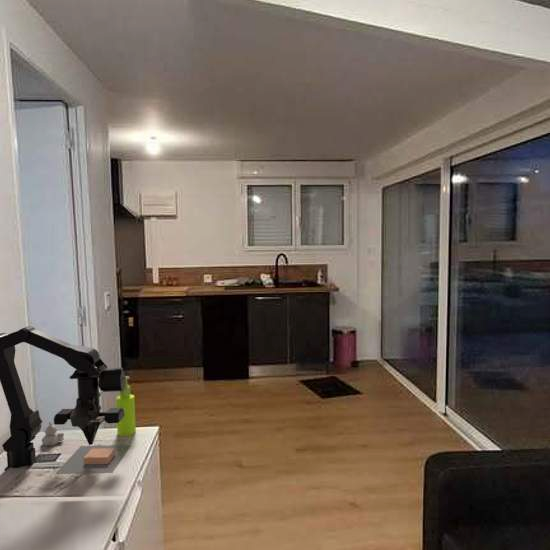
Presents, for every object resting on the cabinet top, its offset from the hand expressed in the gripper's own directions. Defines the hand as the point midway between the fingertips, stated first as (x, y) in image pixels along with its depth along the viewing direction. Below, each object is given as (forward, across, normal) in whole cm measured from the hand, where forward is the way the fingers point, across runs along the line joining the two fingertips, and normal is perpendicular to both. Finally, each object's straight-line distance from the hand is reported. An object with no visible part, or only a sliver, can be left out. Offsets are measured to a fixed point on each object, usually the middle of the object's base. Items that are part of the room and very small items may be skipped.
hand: (91, 444), depth 138 cm
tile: (+4, -1, 0) cm, 4 cm away
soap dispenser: (+6, +4, +20) cm, 21 cm away
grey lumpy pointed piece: (+6, -17, +13) cm, 22 cm away
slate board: (+6, +1, +1) cm, 6 cm away
